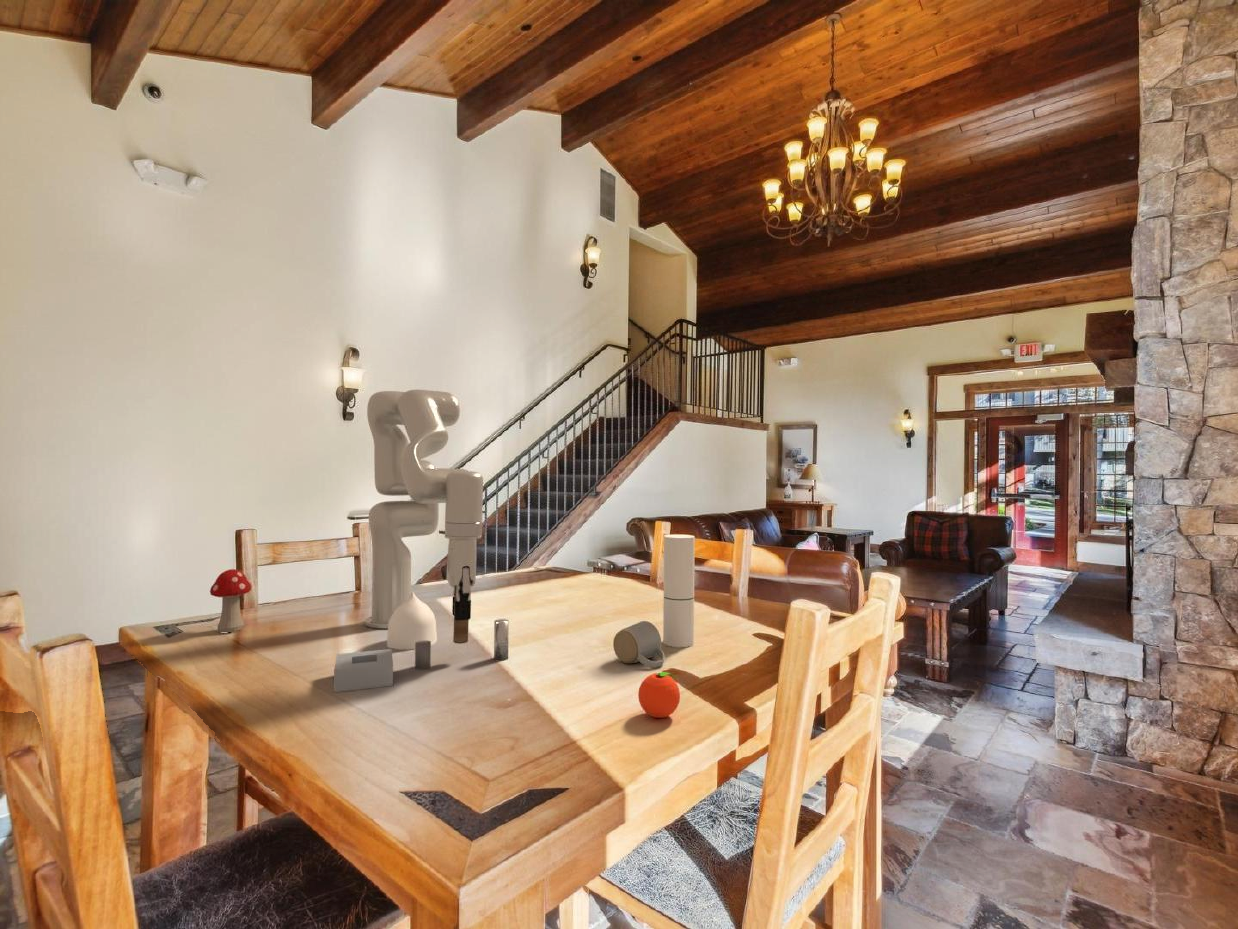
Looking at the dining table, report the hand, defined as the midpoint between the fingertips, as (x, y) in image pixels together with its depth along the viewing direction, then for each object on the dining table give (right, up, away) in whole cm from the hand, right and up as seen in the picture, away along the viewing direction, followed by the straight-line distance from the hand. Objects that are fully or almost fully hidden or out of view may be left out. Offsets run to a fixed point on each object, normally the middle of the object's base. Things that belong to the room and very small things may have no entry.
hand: (461, 616), depth 129 cm
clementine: (+40, -10, -27) cm, 49 cm away
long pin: (0, -5, 0) cm, 5 cm away
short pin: (-7, -9, -4) cm, 12 cm away
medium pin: (+8, -10, +2) cm, 13 cm away
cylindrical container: (+47, -10, +15) cm, 50 cm away
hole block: (-16, -9, -11) cm, 22 cm away
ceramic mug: (+38, -10, +1) cm, 39 cm away
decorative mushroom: (-63, -9, +22) cm, 67 cm away
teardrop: (-15, -10, +14) cm, 22 cm away
